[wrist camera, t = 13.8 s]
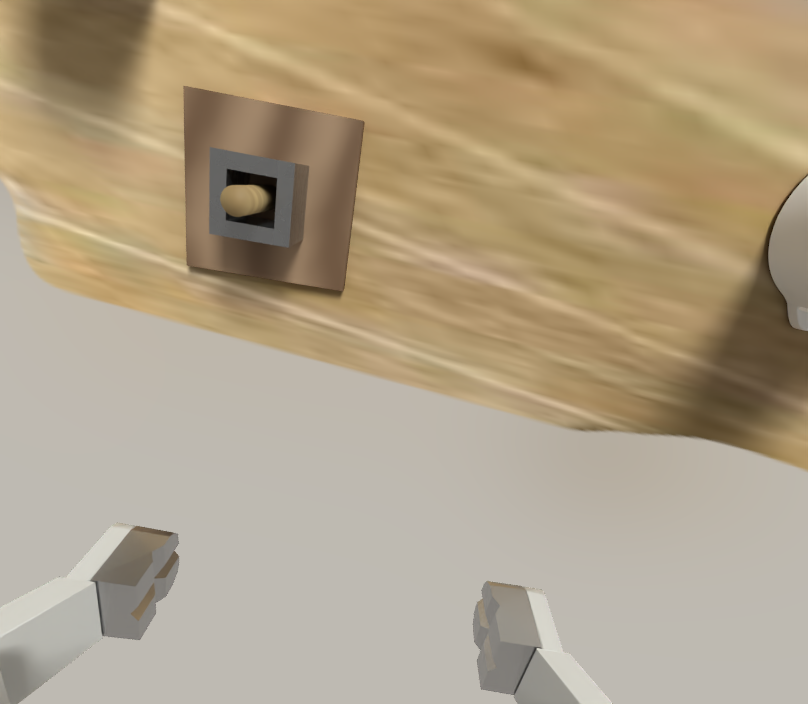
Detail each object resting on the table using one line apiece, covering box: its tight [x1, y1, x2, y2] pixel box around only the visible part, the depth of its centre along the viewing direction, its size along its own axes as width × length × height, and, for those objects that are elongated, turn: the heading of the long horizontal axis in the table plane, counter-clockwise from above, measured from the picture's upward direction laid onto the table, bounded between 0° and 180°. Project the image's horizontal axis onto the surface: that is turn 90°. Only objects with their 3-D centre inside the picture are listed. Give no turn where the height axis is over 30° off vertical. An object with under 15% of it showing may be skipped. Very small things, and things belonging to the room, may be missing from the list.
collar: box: [209, 147, 309, 248], centre depth 33 cm, size 6×6×5 cm
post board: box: [184, 86, 364, 291], centre depth 32 cm, size 14×14×9 cm
